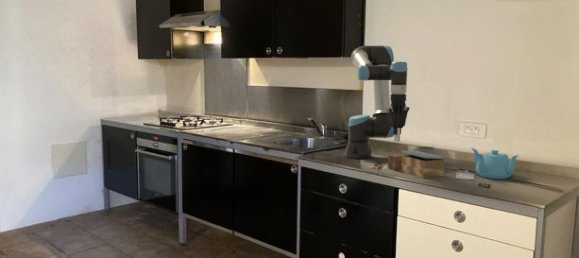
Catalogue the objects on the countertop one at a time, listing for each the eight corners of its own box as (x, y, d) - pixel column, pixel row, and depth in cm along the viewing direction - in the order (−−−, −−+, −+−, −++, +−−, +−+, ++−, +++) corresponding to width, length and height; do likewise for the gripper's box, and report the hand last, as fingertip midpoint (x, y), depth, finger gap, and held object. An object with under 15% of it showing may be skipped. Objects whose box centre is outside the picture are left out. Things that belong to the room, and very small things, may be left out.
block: (387, 168, 245) (388, 155, 244) (395, 167, 248) (396, 154, 247) (394, 170, 241) (394, 156, 240) (402, 169, 243) (402, 155, 242)
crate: (401, 171, 239) (401, 155, 238) (420, 169, 244) (420, 153, 243) (424, 178, 224) (424, 161, 223) (443, 175, 230) (444, 159, 229)
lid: (401, 152, 237) (401, 150, 237) (420, 153, 243) (420, 151, 243) (424, 158, 223) (425, 156, 223) (445, 158, 228) (445, 157, 228)
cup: (421, 165, 254) (422, 146, 253) (436, 167, 249) (437, 147, 248) (414, 167, 248) (414, 148, 246) (429, 170, 242) (430, 150, 241)
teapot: (477, 179, 222) (478, 153, 221) (469, 170, 240) (471, 146, 239) (517, 181, 219) (519, 154, 218) (506, 172, 237) (508, 147, 236)
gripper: (392, 94, 232) (391, 143, 236) (414, 93, 238) (412, 141, 242) (382, 93, 239) (381, 140, 242) (403, 92, 245) (402, 138, 248)
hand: (396, 141), depth 242 cm, fingers closed
